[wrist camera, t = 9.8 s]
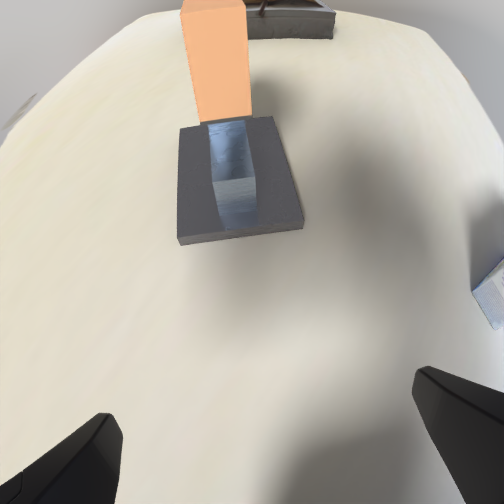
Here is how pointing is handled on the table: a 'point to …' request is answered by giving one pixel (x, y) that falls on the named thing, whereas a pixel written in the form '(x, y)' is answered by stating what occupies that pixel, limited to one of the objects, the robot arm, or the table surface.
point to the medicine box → (492, 296)
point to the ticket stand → (234, 182)
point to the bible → (289, 19)
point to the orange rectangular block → (218, 58)
